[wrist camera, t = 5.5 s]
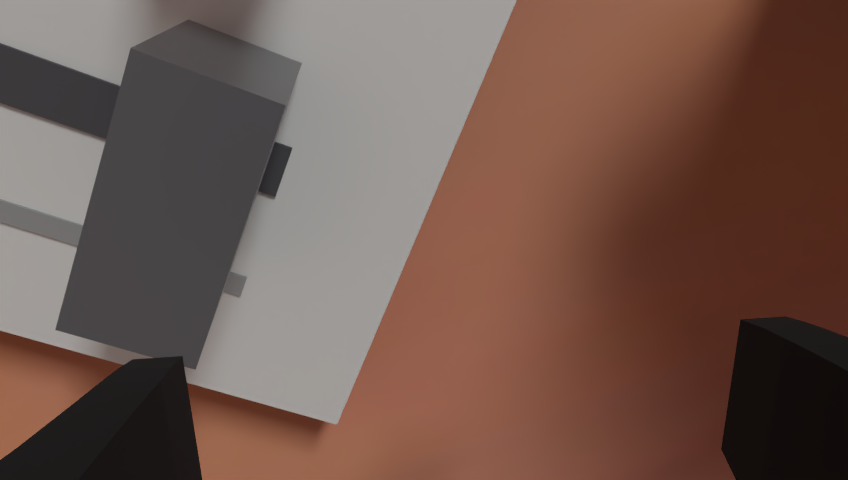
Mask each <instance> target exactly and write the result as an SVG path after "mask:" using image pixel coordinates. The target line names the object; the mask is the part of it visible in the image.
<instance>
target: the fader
mask: <svg viewBox="0 0 848 480" xmlns="http://www.w3.org/2000/svg"><path fill="white" fill-rule="evenodd" d="M301 65H302V63H300V62H298V61H295V60H293V59H290V58H287V57H285V56H282V55H280V54H277V53H274V52H272V51H269V50H267V49H264V48H261V47H259V46H256V45H254V44H251V43H248V42H246V41H243V40H241V39H238V38H235V37H233V36H230V35H228V34H225V33H222V32H220V31H217V30H215V29H212V28H209V27H207V26H204V25H202V24H199V23H196V22H194V21H191V20H189V19H188V20H186V21H184V22H182V23H180V24H178V25H176V26H174V27H172V28H170V29H168V30H166V31H164V32H162V33H160V34H158V35H156V36H154V37H152V38H150V39H148V40H146V41H144V42H142V43H140V44H138V45H136V46H134V47H132V48H130V52H129V56H128V59H127V63H126V67H125V71H124V74H123V78H122V82H121V86H120V89H119V93H118V97H117V101H116V104H115V108H114V112H113V116H112V119H111V123H110V127H109V130H108V134H107V138H106V142H105V145H104V149H103V153H102V157H101V160H100V164H99V168H98V172H97V175H96V179H95V183H94V187H93V190H92V194H91V198H90V202H89V205H88V209H87V213H86V217H85V220H84V224H83V228H82V232H81V235H80V239H79V243H78V246H77V250H76V254H75V258H74V261H73V265H72V269H71V273H70V276H69V280H68V284H67V288H66V291H65V295H64V299H63V303H62V306H61V310H60V314H59V318H58V321H57V325H56V329H55V330H57V331H61V332H64V333H68V334H71V335H75V336H78V337H82V338H85V339H89V340H92V341H96V342H99V343H103V344H106V345H110V346H114V347H117V348H121V349H124V350H128V351H131V352H135V353H138V354H142V355H145V356H149V357H152V358H161V357H176V356H183V362H184V367H187V368H191V369H195V370H196V367H197V364H198V362H199V359H200V356H201V353H202V350H203V348H204V345H205V342H206V339H207V336H208V333H209V331H210V328H211V325H212V322H213V319H214V317H215V314H216V311H217V308H218V305H219V303H220V300H221V297H222V294H223V291H224V289H225V286H226V283H227V280H228V277H229V275H230V272H231V269H232V266H233V263H234V260H235V257H236V254H237V251H238V248H239V246H240V243H241V240H242V237H243V234H244V231H245V228H246V225H247V222H248V219H249V216H250V213H251V211H252V208H253V205H254V202H255V199H256V196H257V193H258V190H259V187H260V184H261V181H262V178H263V175H264V173H265V170H266V167H267V164H268V161H269V158H270V155H271V152H272V149H273V146H274V143H275V140H276V138H277V135H278V132H279V129H280V126H281V123H282V120H283V117H284V114H285V111H286V108H287V105H288V103H289V100H290V97H291V94H292V91H293V88H294V85H295V82H296V79H297V76H298V73H299V70H300V68H301Z"/></svg>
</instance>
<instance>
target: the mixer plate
mask: <svg viewBox="0 0 848 480" xmlns="http://www.w3.org/2000/svg"><path fill="white" fill-rule="evenodd" d="M516 1H517V0H0V331H3V332H7V333H11V334H14V335H18V336H21V337H25V338H29V339H32V340H36V341H39V342H43V343H46V344H50V345H54V346H57V347H61V348H64V349H68V350H71V351H75V352H79V353H82V354H86V355H89V356H93V357H96V358H100V359H104V360H107V361H111V362H114V363H118V364H122V365H125V364H126V363H128V362H129V361H131V360H132V359H145V358H152V357H149V356H145V355H142V354H138V353H135V352H131V351H128V350H124V349H121V348H117V347H114V346H110V345H106V344H103V343H99V342H96V341H92V340H89V339H85V338H82V337H78V336H75V335H71V334H68V333H64V332H61V331H57V330H55V329H56V325H57V321H58V318H59V314H60V310H61V306H62V303H63V299H64V295H65V291H66V288H67V284H68V280H69V276H70V273H71V269H72V265H73V261H74V258H75V254H76V250H77V246H78V243H79V239H80V235H81V232H82V228H83V224H84V220H85V217H86V213H87V209H88V205H89V202H90V198H91V194H92V190H93V187H94V183H95V179H96V175H97V172H98V168H99V164H100V160H101V157H102V153H103V149H104V145H105V142H106V138H107V134H108V130H109V127H110V123H111V119H112V116H113V112H114V108H115V104H116V101H117V97H118V93H119V89H120V86H121V82H122V78H123V74H124V71H125V67H126V63H127V59H128V56H129V52H130V48H132V47H134V46H136V45H138V44H140V43H142V42H144V41H146V40H148V39H150V38H152V37H154V36H156V35H158V34H160V33H162V32H164V31H166V30H168V29H170V28H172V27H174V26H176V25H178V24H180V23H182V22H184V21H186V20H188V19H189V20H191V21H194V22H196V23H199V24H202V25H204V26H207V27H209V28H212V29H215V30H217V31H220V32H222V33H225V34H228V35H230V36H233V37H235V38H238V39H241V40H243V41H246V42H248V43H251V44H254V45H256V46H259V47H261V48H264V49H267V50H269V51H272V52H274V53H277V54H280V55H282V56H285V57H287V58H290V59H293V60H295V61H298V62H300V63H302V65H301V68H300V70H299V73H298V76H297V79H296V82H295V85H294V88H293V91H292V94H291V97H290V100H289V103H288V105H287V108H286V111H285V114H284V117H283V120H282V123H281V126H280V129H279V132H278V135H277V138H276V140H275V143H274V146H273V149H272V152H271V155H270V158H269V161H268V164H267V167H266V170H265V173H264V175H263V178H262V181H261V184H260V187H259V190H258V193H257V196H256V199H255V202H254V205H253V208H252V211H251V213H250V216H249V219H248V222H247V225H246V228H245V231H244V234H243V237H242V240H241V243H240V246H239V248H238V251H237V254H236V257H235V260H234V263H233V266H232V269H231V272H230V275H229V277H228V280H227V283H226V286H225V289H224V291H223V294H222V297H221V300H220V303H219V305H218V308H217V311H216V314H215V317H214V319H213V322H212V325H211V328H210V331H209V333H208V336H207V339H206V342H205V345H204V348H203V350H202V353H201V356H200V359H199V362H198V364H197V367H196V370H195V369H191V368H187V367H184V369H185V375H186V381H187V383H190V384H193V385H197V386H200V387H204V388H207V389H211V390H215V391H218V392H222V393H225V394H229V395H232V396H236V397H240V398H243V399H247V400H250V401H254V402H257V403H261V404H265V405H268V406H272V407H275V408H279V409H283V410H286V411H290V412H293V413H297V414H300V415H304V416H308V417H311V418H315V419H318V420H322V421H325V422H329V423H333V424H336V425H337V423H338V421H339V418H340V416H341V414H342V411H343V409H344V407H345V404H346V402H347V400H348V397H349V395H350V393H351V390H352V388H353V385H354V383H355V381H356V378H357V376H358V374H359V371H360V369H361V367H362V364H363V362H364V359H365V357H366V355H367V352H368V350H369V348H370V345H371V343H372V341H373V338H374V336H375V333H376V331H377V329H378V326H379V324H380V322H381V319H382V317H383V315H384V312H385V310H386V308H387V305H388V303H389V300H390V298H391V296H392V293H393V291H394V289H395V286H396V284H397V282H398V279H399V277H400V274H401V272H402V270H403V267H404V265H405V263H406V260H407V258H408V256H409V253H410V251H411V248H412V246H413V244H414V241H415V239H416V237H417V234H418V232H419V230H420V227H421V225H422V222H423V220H424V218H425V215H426V213H427V211H428V208H429V206H430V204H431V201H432V199H433V197H434V194H435V192H436V189H437V187H438V185H439V182H440V180H441V178H442V175H443V173H444V171H445V168H446V166H447V163H448V161H449V159H450V156H451V154H452V152H453V149H454V147H455V145H456V142H457V140H458V137H459V135H460V133H461V130H462V128H463V126H464V123H465V121H466V119H467V116H468V114H469V111H470V109H471V107H472V104H473V102H474V100H475V97H476V95H477V93H478V90H479V88H480V86H481V83H482V81H483V78H484V76H485V74H486V71H487V69H488V67H489V64H490V62H491V60H492V57H493V55H494V52H495V50H496V48H497V45H498V43H499V41H500V38H501V36H502V34H503V31H504V29H505V26H506V24H507V22H508V19H509V17H510V15H511V12H512V10H513V8H514V5H515V3H516Z"/></svg>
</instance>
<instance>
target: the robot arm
mask: <svg viewBox="0 0 848 480" xmlns="http://www.w3.org/2000/svg"><path fill="white" fill-rule="evenodd" d="M721 449H722V451H723V453H724V455H725V458H726V460H727V462H728V464H729V466H730V468H731V470H732V472H733V474H734V476H735V478H736V480H848V338H847V337H845V336H842V335H839V334H837V333H834V332H832V331H829V330H826V329H823V328H821V327H818V326H815V325H812V324H809V323H806V322H803V321H799V320H795V319H792V318H788V317H774V318H758V319H743V320H740V327H739V334H738V341H737V347H736V354H735V361H734V368H733V374H732V381H731V388H730V395H729V401H728V408H727V415H726V421H725V428H724V435H723V442H722V448H721ZM0 480H202V476H201V469H200V463H199V457H198V450H197V444H196V438H195V432H194V425H193V419H192V413H191V406H190V400H189V394H188V387H187V381H186V375H185V369H184V362H183V356H176V357H161V358H145V359H132V360H131V361H129V362H128V363H126V364H125V365H123V366H122V367H120V368H119V369H117V370H116V371H115V372H113V373H112V374H111V375H109V376H108V377H107V378H106V379H104V380H103V381H102V382H100V383H99V384H98V385H97V386H95V387H94V388H93V389H92V390H90V391H89V392H88V393H86V394H85V395H84V396H83V397H81V398H80V399H79V400H78V401H76V402H75V403H74V404H73V405H71V406H70V407H69V408H68V409H66V410H65V411H64V412H62V413H61V414H60V415H59V416H57V417H56V418H55V419H54V420H52V421H51V422H50V423H48V424H47V425H46V426H45V427H43V428H42V429H41V430H39V431H38V432H37V433H36V434H34V435H33V436H32V437H30V438H29V439H28V440H27V441H25V442H24V443H23V444H21V445H20V446H19V447H18V448H16V449H15V450H14V451H12V452H11V453H9V454H8V455H7V456H5V457H4V458H2V459H1V460H0Z"/></svg>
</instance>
